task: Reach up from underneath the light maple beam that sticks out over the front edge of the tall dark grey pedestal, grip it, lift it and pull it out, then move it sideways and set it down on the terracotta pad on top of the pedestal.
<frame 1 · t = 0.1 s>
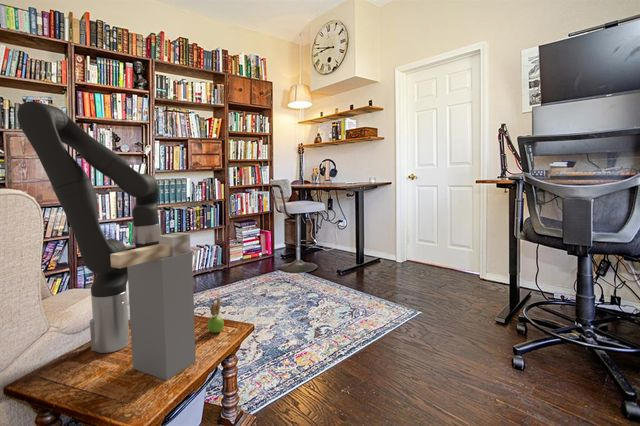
hand: (154, 291, 107), 17 cm above the table, tool pointing down, fingers open, 8 cm apart
pedestal: (164, 365, 97), on the table
beam: (153, 258, 87), point 32 cm above the table, touching pedestal
snail figurine: (216, 331, 118), on the table
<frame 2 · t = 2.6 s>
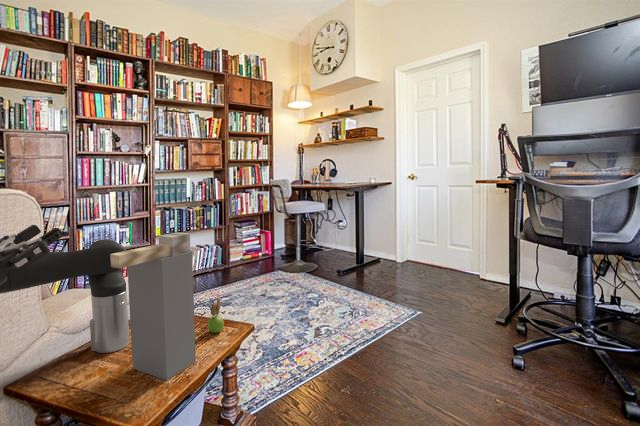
hand: (48, 229, 75), 41 cm above the table, tool pointing upward, fingers open, 8 cm apart
nothing on the table moved.
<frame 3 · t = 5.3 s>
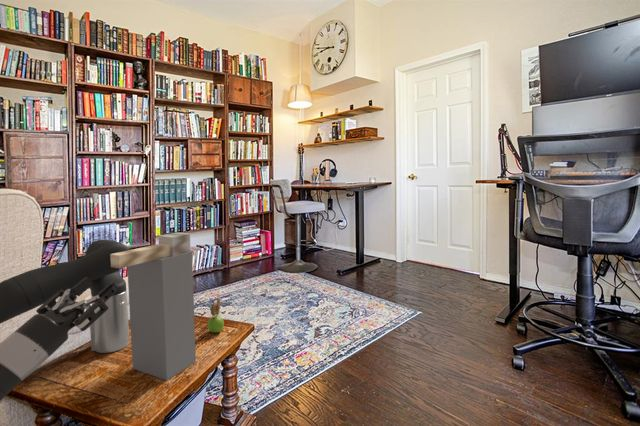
hand: (101, 282, 75), 29 cm above the table, tool pointing upward, fingers open, 8 cm apart
nothing on the table moved.
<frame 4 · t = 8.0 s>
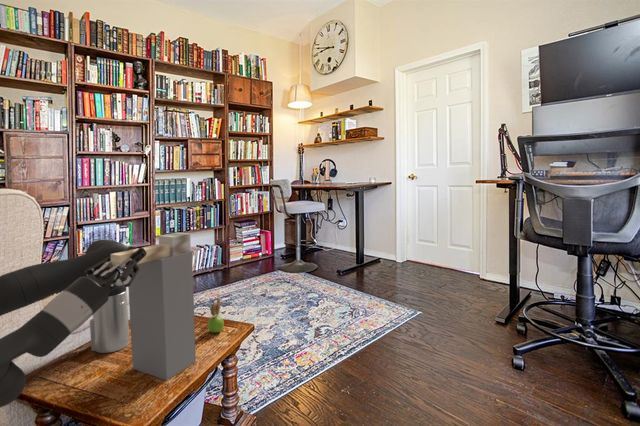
hand: (138, 250, 83), 35 cm above the table, tool pointing upward, fingers closed on beam, 3 cm apart
beam: (153, 258, 87), point 32 cm above the table, touching gripper, pedestal
everything else where it was.
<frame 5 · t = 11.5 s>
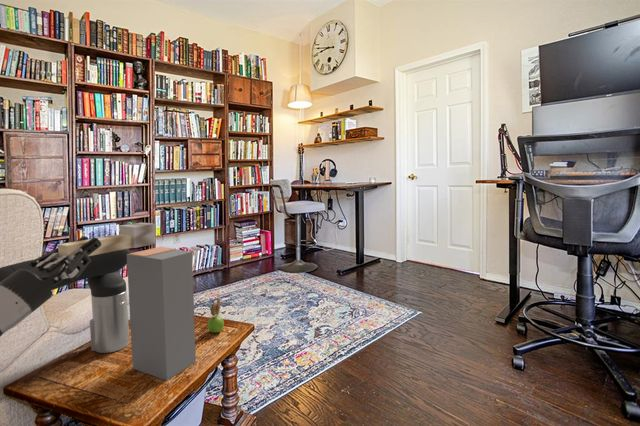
hand: (92, 240, 75), 39 cm above the table, tool pointing upward, fingers closed on beam, 3 cm apart
beam: (111, 250, 79), point 36 cm above the table, touching gripper
everything else where it was.
when the fingers open (36 cm above the table, at t = 15.4 s): beam stays where it is, resting on pedestal.
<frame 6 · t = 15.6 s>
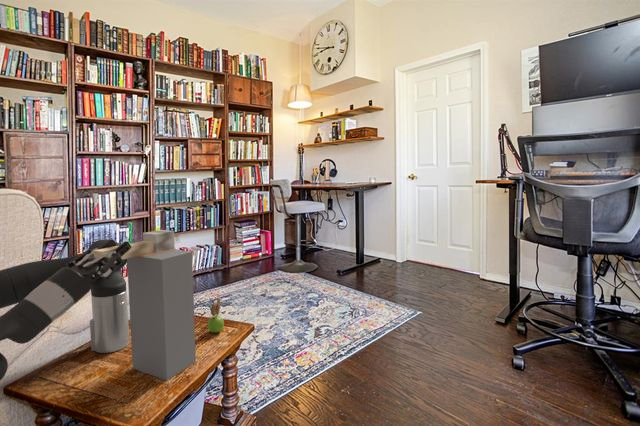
hand: (120, 243, 85), 36 cm above the table, tool pointing upward, fingers open, 5 cm apart
beam: (136, 254, 90), point 32 cm above the table, touching pedestal
everything else where it was.
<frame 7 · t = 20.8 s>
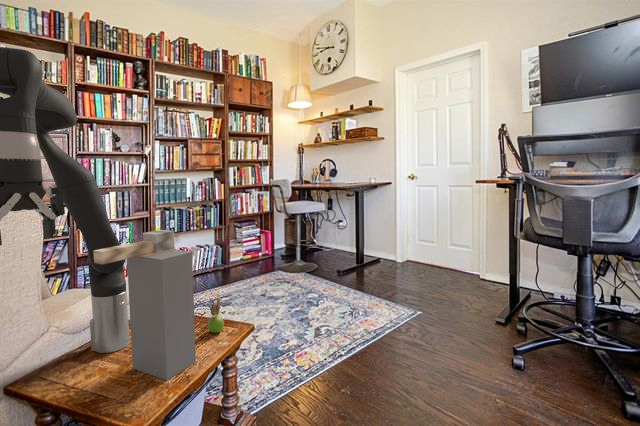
hand: (24, 241, 68), 40 cm above the table, tool pointing down, fingers open, 8 cm apart
nothing on the table moved.
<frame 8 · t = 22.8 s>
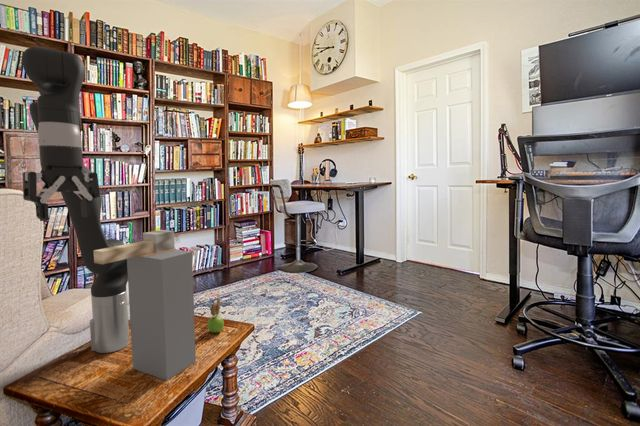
hand: (66, 218, 77), 43 cm above the table, tool pointing down, fingers open, 8 cm apart
nothing on the table moved.
at the end: beam 0.1 cm from the target spot on the pedestal, point 32.3 cm above the pedestal's base; beam tilted 0°; the gripper is holding nothing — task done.
